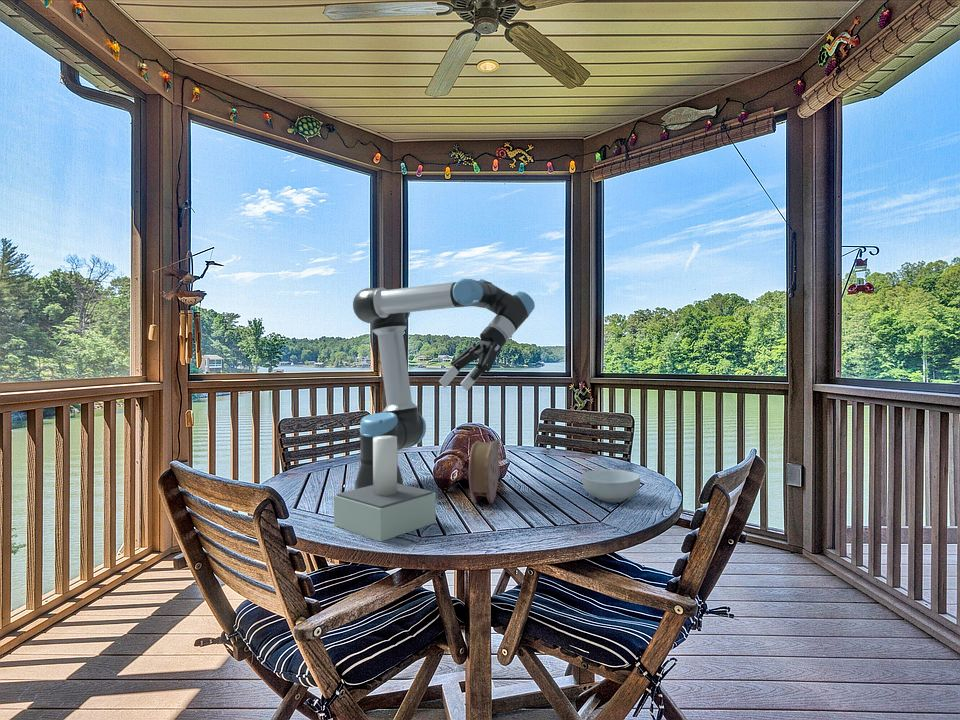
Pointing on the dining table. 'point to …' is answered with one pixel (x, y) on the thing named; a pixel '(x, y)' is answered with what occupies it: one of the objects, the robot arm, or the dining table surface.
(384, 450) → the post
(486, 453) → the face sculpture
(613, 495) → the cereal bowl
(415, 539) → the dining table surface
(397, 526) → the block
